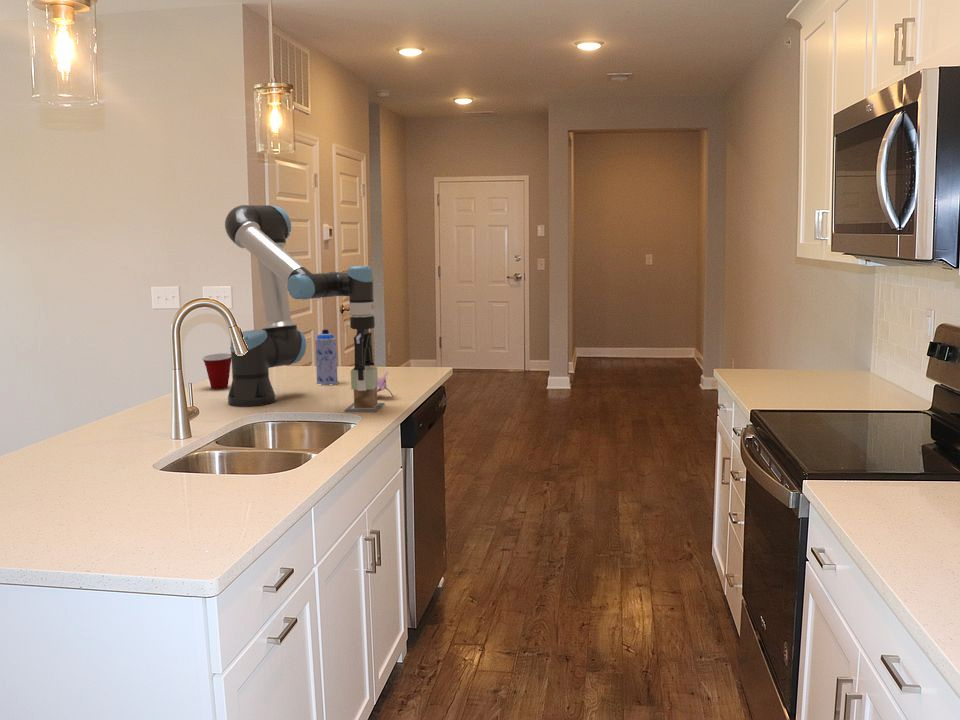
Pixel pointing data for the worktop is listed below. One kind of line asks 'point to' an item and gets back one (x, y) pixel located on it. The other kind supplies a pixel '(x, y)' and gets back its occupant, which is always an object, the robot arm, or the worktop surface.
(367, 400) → the walnut block
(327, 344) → the aerosol can
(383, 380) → the lily
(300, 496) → the worktop surface
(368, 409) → the slate build plate
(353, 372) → the sage block
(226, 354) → the plastic cup
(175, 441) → the worktop surface
